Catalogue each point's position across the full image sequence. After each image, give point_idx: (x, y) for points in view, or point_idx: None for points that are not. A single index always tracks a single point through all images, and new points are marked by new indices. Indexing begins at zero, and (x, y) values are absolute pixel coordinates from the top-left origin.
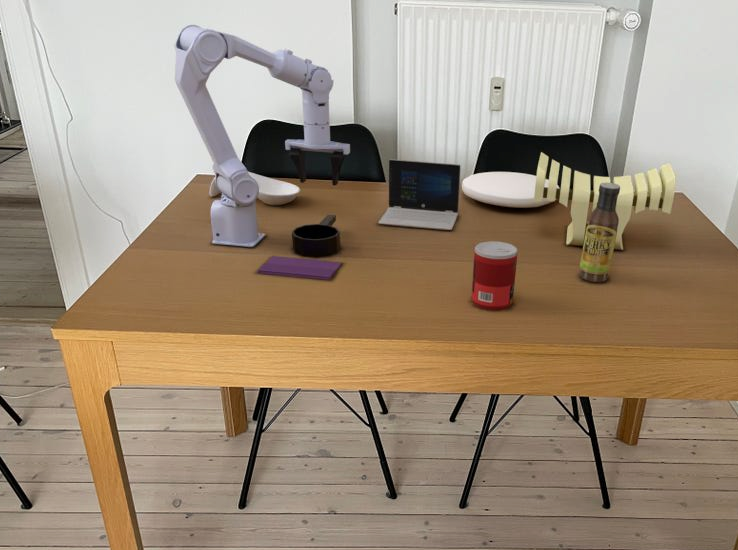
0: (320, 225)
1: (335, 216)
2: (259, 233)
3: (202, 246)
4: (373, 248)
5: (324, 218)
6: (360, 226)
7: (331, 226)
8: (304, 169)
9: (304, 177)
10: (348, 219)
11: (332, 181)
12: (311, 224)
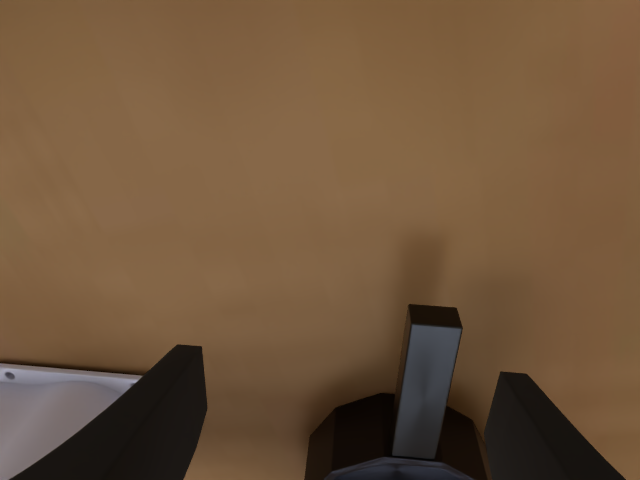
0: (404, 463)
1: (461, 332)
2: (127, 382)
3: None
4: (632, 434)
5: (406, 383)
6: (580, 182)
7: (461, 475)
8: (153, 441)
9: (192, 407)
10: (500, 66)
11: (492, 474)
12: (360, 465)
